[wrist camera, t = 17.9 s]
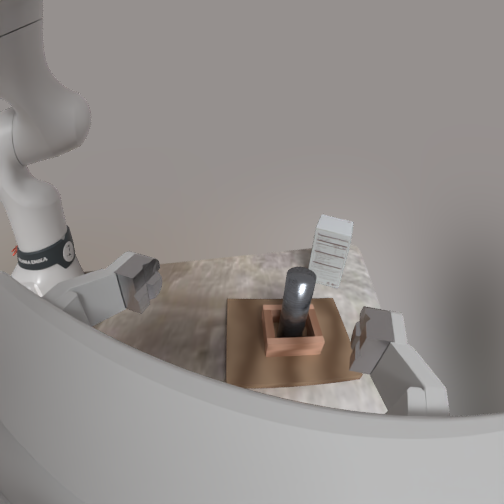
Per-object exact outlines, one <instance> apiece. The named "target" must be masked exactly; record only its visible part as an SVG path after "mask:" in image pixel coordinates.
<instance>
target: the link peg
mask: <svg viewBox="0 0 504 504" xmlns="http://www.w3.org/2000/svg"><path fill="white" fill-rule="evenodd" d="M316 278H317V277H316V274H315V273H314V272H313V271H312V270H310V269H308V268H304V267H294V268H291V269H290V270H288V272H287V277H286V283H285V290H284V296H283V302H282V308H281V314H280V320H279V326H278V332H277V337H278V338H292V337H302V335H303V331H304V327H305V323H306V320H307V316H308V312H309V308H310V304H311V300H312V295H313V291H314V287H315V283H316Z"/></svg>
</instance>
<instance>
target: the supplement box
mask: <svg viewBox="0 0 504 504" xmlns="http://www.w3.org/2000/svg"><path fill="white" fill-rule="evenodd" d="M353 224H354V222H351V221H348V220H343V219H339V218H335V217H331V216H326V215H321V217H320V219H319V221H318V224H317V226H316V230H315V236H314V241H313V247H312V251H311V257H310V262H309V268H308V269H310V270H312V271H313V272H314V273H315V274H316V277H317V278H316V283H319V284H323V285H326V286H330V287H334V288H338V287H339V284H340V281H341V277H342V273H343V270H344V266H345V262H346V259H347V255H348V251H349V247H350V243H351V239H352V232H353Z"/></svg>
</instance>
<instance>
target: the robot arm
mask: <svg viewBox="0 0 504 504" xmlns="http://www.w3.org/2000/svg"><path fill="white" fill-rule="evenodd" d="M42 17H43V0H0V99H3V100H5V101H6V102H8V103H9V104H10V105H11V106H12V107H11V108H8V109H6V110H3V111H0V201H1V202H2V204H3V206H4V208H5V210H6V213H7V215H8V218H9V221H10V224H11V227H12V230H13V233H14V236H15V239H16V242H17V246H16V247H15V248H14V249H13V250H12V252H13V251H14V250H15V249H16V250H15V252H14V254H13V256H14V255H15V254H16V253H17V257H18V263H17V265H16V267H15V269H14V271H13V273H12V275H11V276H10V275H9V274H7V273H6V272H4V271H0V504H504V412H501V413H493V414H484V415H470V416H450V413H449V405H448V397H447V391H446V387H445V386H444V385H443V384H442V382H441V381H440V380H439V379H438V377H437V376H436V375H435V374H434V372H433V371H432V370H431V369H430V367H429V366H428V365H427V364H426V362H425V361H424V360H423V359H422V358H421V356H420V355H419V354H418V353H417V352H416V350H415V349H414V348H413V347H412V346H411V345H408V343H407V336H406V330H405V324H404V319H403V314H402V313H401V312H395V311H386V310H381V309H376V308H370V307H365V306H364V307H363V308H362V310H361V313H360V321H359V322H357V323H356V325H355V327H354V330H353V334H352V338H351V349H352V350H353V351H352V353H351V355H350V365H349V371H354V372H359V373H365V374H370V376H371V378H372V380H373V382H374V384H375V386H376V388H377V390H378V392H379V394H380V396H381V398H382V400H383V402H384V404H385V406H386V408H387V410H388V411H387V412H386V413H385V414H376V413H366V412H358V411H350V410H343V409H336V408H330V407H324V406H319V405H313V404H308V403H303V402H298V401H293V400H289V399H284V398H280V397H276V396H272V395H268V394H264V393H260V392H256V391H252V390H249V389H245V388H242V387H238V386H235V385H231V384H228V383H225V382H222V381H219V380H216V379H213V378H210V377H207V376H204V375H201V374H198V373H195V372H192V371H190V370H187V369H184V368H181V367H179V366H176V365H174V364H171V363H169V362H166V361H164V360H161V359H159V358H156V357H154V356H152V355H149V354H147V353H145V352H142V351H140V350H138V349H136V348H133V347H131V346H129V345H127V344H125V343H123V342H121V341H118V340H116V339H114V338H112V337H110V336H108V335H106V334H104V333H102V332H100V331H98V330H97V329H95V328H93V327H92V326H94V325H96V324H98V323H100V322H102V321H104V320H106V319H108V318H110V317H111V316H113V315H115V314H117V313H119V312H121V311H123V310H125V309H129V310H132V311H135V312H138V313H140V314H142V313H143V312H144V310H145V309H146V308H147V307H148V306H149V305H150V299H153V298H155V297H156V296H157V295H158V294H159V293H160V290H161V287H162V277H161V275H160V274H159V272H158V270H159V269H160V265H159V261H158V260H157V259H155V258H152V257H148V256H145V255H141V254H137V253H134V252H131V251H127V252H125V253H124V254H123V255H121V256H120V257H119V258H118V259H116V260H115V261H114V262H113V263H112V264H110V265H109V266H108V267H107V268H106V269H105V270H104V269H100V270H96V271H93V272H90V273H87V274H85V273H84V272H83V270H82V268H81V266H80V264H79V261H78V259H77V257H76V255H75V250H74V244H73V240H72V236H71V232H70V229H69V227H68V226H67V225H66V221H65V217H64V212H63V208H62V202H61V197H60V194H59V192H58V190H57V189H56V188H55V187H54V186H53V185H52V184H50V183H48V182H46V181H41V180H38V179H36V178H35V177H34V176H33V175H32V174H31V173H30V172H29V170H28V167H27V165H29V164H32V163H36V162H38V161H43V160H46V159H50V158H54V157H58V156H60V155H62V154H64V153H66V152H69V151H71V150H73V149H75V148H77V147H80V146H81V145H82V143H83V142H84V140H85V139H86V137H87V135H88V132H89V129H90V125H91V111H90V107H89V105H88V103H87V101H86V100H85V98H84V97H83V96H82V95H80V94H79V93H77V92H74V91H72V90H70V89H68V88H67V87H65V86H64V85H62V84H61V83H60V82H59V81H58V80H57V79H56V78H55V77H54V76H53V74H52V73H51V71H50V69H49V68H48V65H47V63H46V59H45V54H44V45H43V18H42Z"/></svg>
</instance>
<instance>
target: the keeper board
mask: <svg viewBox="0 0 504 504" xmlns="http://www.w3.org/2000/svg"><path fill="white" fill-rule="evenodd" d="M282 302H283V299H227V349H226V383H228V384H231V385H235V386H238V387H242V388H278V387H294V386H307V385H317V384H327V383H335V382H343V381H350V380H356V379H360V378H361V376H362V375H363V374H362V373H359V372H354V371H349V365H350V355H351V353H352V351H353V350H352V349H351V342H350V340H349V337H348V334H347V332H346V329H345V327H344V324H343V322H342V319H341V317H340V314H339V312H338V309H337V307H336V304H335V302H334V300H333V298H320V299H312V300H311V304H310V308H309V312H308V316H307V320H306V323H305V327H304V331H303V335H302V337H292V338H278V337H277V332H278V326H279V320H280V314H281V308H282Z"/></svg>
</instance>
